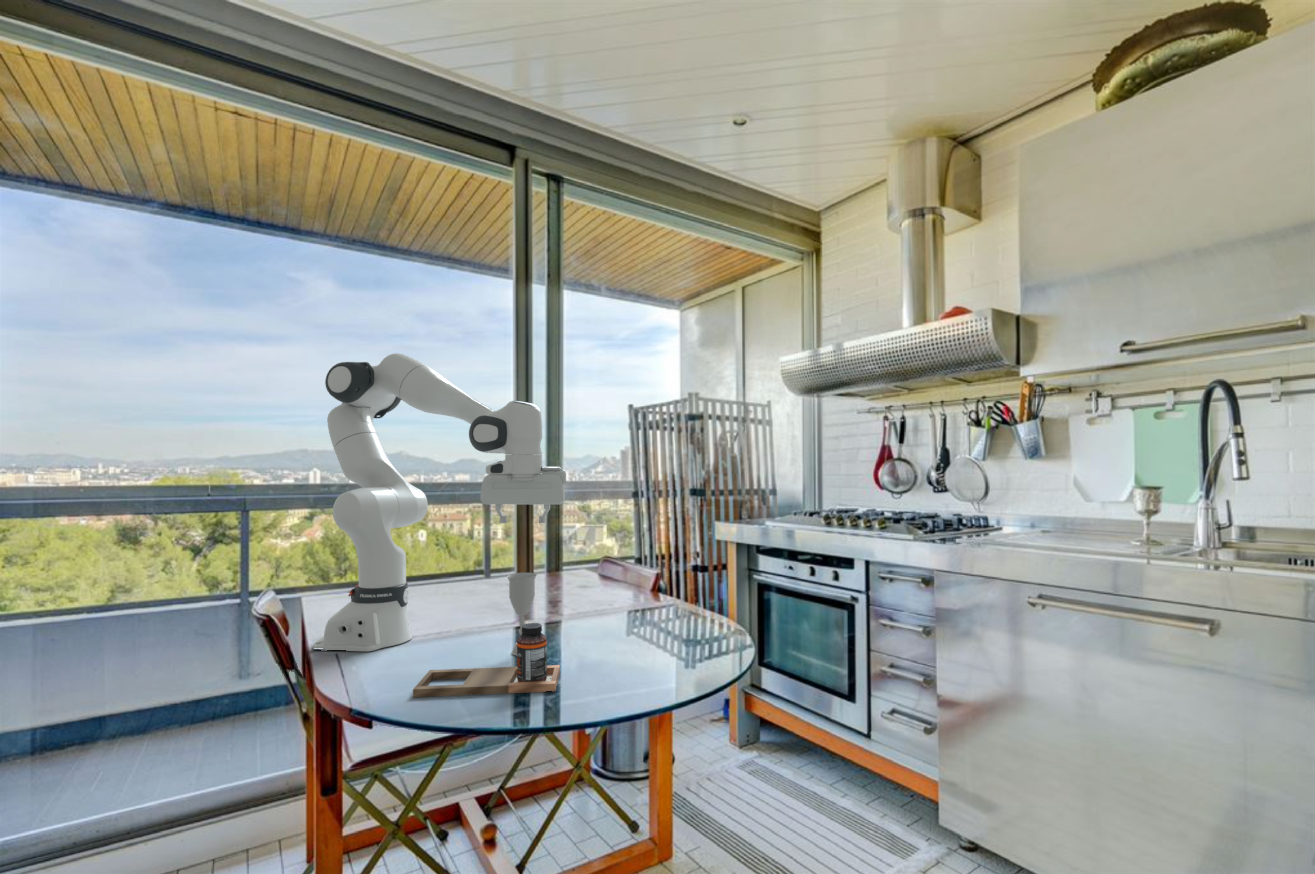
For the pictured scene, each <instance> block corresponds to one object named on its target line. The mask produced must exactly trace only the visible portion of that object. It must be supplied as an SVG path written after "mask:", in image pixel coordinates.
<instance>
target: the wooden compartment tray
mask: <svg viewBox="0 0 1315 874" xmlns="http://www.w3.org/2000/svg"><path fill="white" fill-rule="evenodd" d="M560 674H561V665H560V664H552V665H549V664H547V678H546V680H545V681H539V682H518V680H517V666H502V667H499V666H498V667H475V668H454V669H453V668H451V669H450V668H449V669H448V668H447V669H429V671H428V672H426V674H425V675H424V676H423V677H422V678H421V679H420V681H419V682H418V683H417V684H416V685H415V687H413V689H412V697H413V698H430V697H431V698H432V697H453V696H478V695H498V694H499V695H500V694H501V695H504V694H525V693H526V694H527V693H547V692H546V691H552V692H556V691H557V687H556V686H558V683H559V678H560ZM550 678H551V679H550ZM457 679H459V680H460V679H465V681H464V682H463V684H447V685H430V684H431V682H432V681H434V680H435V681H436V680H457Z"/></svg>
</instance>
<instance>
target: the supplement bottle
mask: <svg viewBox="0 0 1315 874" xmlns="http://www.w3.org/2000/svg"><path fill="white" fill-rule="evenodd" d="M542 627H543V625H542V624H541V623H540V622H528V623H525V624H524V625H523V626H522V634H521V636H520V635H519V636H518V637H517V640H516V642H517V656H516V667H517V680H518V682H539V681H545V680H546V678H547V666H548V663H547V662H548V654H547V653H548V649H547V648H548V644H547V643H548V642H547V640H548V639H547V636H546V635H545V634H544V633H543V632H542V631H543V628H542Z"/></svg>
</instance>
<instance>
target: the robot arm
mask: <svg viewBox="0 0 1315 874" xmlns="http://www.w3.org/2000/svg"><path fill="white" fill-rule="evenodd" d="M324 381H325V383H324V385H325V389H326V391H327V393H329V395H330V396H331V397H332V398H333V399H335V400H337V401H339V402H341V403H340V404H339V405H337V406H336V407H333V408H332V409H331V410H330V412H329V413H328V415H327V417H326V418H327V429H328V434H329V437H330V440H331V441H330V442H331V444H332V447H333V449H334V453H335V455H336V458H337V460H338V463H339V465H340V469H341V471H342V473H343V474H344V476H345V478H347V479H348V480H349V481H351V482H353V483H355V484H357V485H358V486H359V487H358V488H354V489H351V490H348V491H345V492H343V493H341V494H340V495H338V496H337V498H336V499H335V502H334V503H333V507H332V517H333V521H334V522H335V524H336V526H337V527H338V528H339V529H340V530H342V531H343V532H344V533H346V534H347V536H348V537H349V538H350V540H351V542H352V543H353V545H354V546H353V547H354V548H355V551H356V554H357V555H356V556H357V567H358V584H356V585H355V586H354V587H353V588H352V589H351V590H350V591H348V595H347V596H348V597H350V602H348V603H347V604H346V605H344V606H343V607H342V608H341V609H339V610H338V611H337V612H336V613H334V614H333V615H332V616H330V618H328V620H327V622H326V623H325V624H326V625H325V627H324V631H323V632H324V634H323V637H320V638H318V639H317V640H316V641H315V642H314V643H313V646H314V648H323V649H328V650H346V651H345V652H372V651H373V652H374V651H377V650H380V649H383V648H389V647H392V646H398V645H400V644H401V645H402V644H404V643H406V642H408V641H410V640H412V639H413V633H412V629H411V626H410V621H409V620H410V619H409V613H408V603H409V602H408V601H409V586H408V585H409V584H408V582H407V553H406V552H405V550H404V549H403V547H401V546H399V545H397V544H396V543H395V542H394V539H393V538H392V534H391V530H392V529H398V528H399V529H400V528H404V527H409V526H411V525H414V524H416V523H418V522H420V521H422V520H423V519H424V518H425V516H426V514H427V512H428V508H429V504H428V498H427V495H426V494H425V492H424V491H422V489H419V488H418V487H416V486H414V485H413V484H411V483H410V482H409V481H408V480H407V479H405V477H403V476H402V474H400V472H399V471H398V469H396V468H395V466H394V465H393V463H392V462H391V460H390V459H389V457H388V455H387V452H386V451H385V448H384V446H383V443H382V441H381V439H380V436H379V434H378V432H377V429H376V427H375V424H374V419H381V418H383V417H384V416H385V415H387V414H388V413H390V412H391V411H394V410H395V409H396V408H397V407H398V406H399V404H400V403H401V402H402V401H403V402H404V403H405V404H407V405H409V406H410V407H412V408H414V409H416V410H419V411H422V412H424V413H427V414H433V415H439V416H440V415H441V416H446V417H447V416H448V417H453V418H456V419H459V420H461V421H464V422H467V424H470V426H469V429H468V437H469V438H468V439H469V442H470V444H471V446H472V447H473V448H474V449H475V451H478V452H481V453H485V454H505V455H504V458H505V459H504V460H499V461H497V462H495V463H491V464H488V465H486V466H485V472H486V474H487V475H485V476H484V478H483V479H482V483H481V488H480V498H479V499H480V502H481V503H482V505H494V506H495V507H494V508H495V511H496V513H497V515H498V516H499V524H507V523H508V515H506V514H505V515H504V512H503V511H502V509H503V507H504V505H543V509H544V512H543V514H542V515H539V516H538V524H546V520H547V519H546V518H547V515H548V513H549V511H550V510H551V505H552V506H553V505H562V504H563V503H564V502H565V500H566V498H565V496H566V495H565V484H566V481H567V473H566V471H565V470H564V469H563V468H561V467H560V466H543V465H542V463H543V452H542V448H541V442H542V439H543V421H542V414H541V409H540V407H539V406H537V404H534V403H530V402H525V401H520V400H519V401H518V400H511V401H509V402H508V403H507V404H505V406H503V407H501V408H499V409H498V410H494V409H492V408H490V407H489V406H487V405H485V404H483V403H482V402H480V401H478V400H477V399H475V398H474V397H472V396H470V395H469V394H467V393H465V392H464V391H463V390H462V389H460V388H459V387H457V386H456V385H455V384H453V383H452V382H450V381H449V380H447V379H446V378H445V377H444V376H443V375H441V374H440V373H439V372H437V371H435V370H434V369H433V368H431V367H429V366H428V365H426V364H425V363H423V362H421V361H419V360H417V359H415V358H413V357H410V356H409V355H405V354H403V353H398V352H397V353H395V352H394V353H391V354H388V355H387V356H385V357H384V358H383V359H382V360H381V361H380V363H379V364H378V365H375V366H374V365H371V363H369V362H368V361H358V362H357V361H343V362H338V363H336V364H334V365H333V366H331V368H330V369H329V370H328V371H327V374H326V376H325V380H324Z"/></svg>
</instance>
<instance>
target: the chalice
mask: <svg viewBox="0 0 1315 874" xmlns="http://www.w3.org/2000/svg"><path fill="white" fill-rule="evenodd" d="M537 576H538V575H537V573H536V572H535V573H534V572H517V573H516V572H515V573H511V574H508V575H506V577H507V579H508V581H509V584H508V587H509V589H508V590H509V591H508V593H509V594H508V595H509V601H510V604H511V606H512V608H513V611H514V612H515V614H516V615H518V616H519V619H520V620H519V622H518V625H519V627H520V628H519V630H518V633H519V636H521V634H522V626H523V625H524V624H526V622H525V615H527V614H528V613H529V611H530V609H531V607H532V605H533V602H534V600H535V596H536V593H535V588H536V587H535V582H536V577H537ZM510 655H513V656H516V657H517V641H516V642H515V643H514V645H513V648H512V651H511V654H510Z"/></svg>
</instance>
